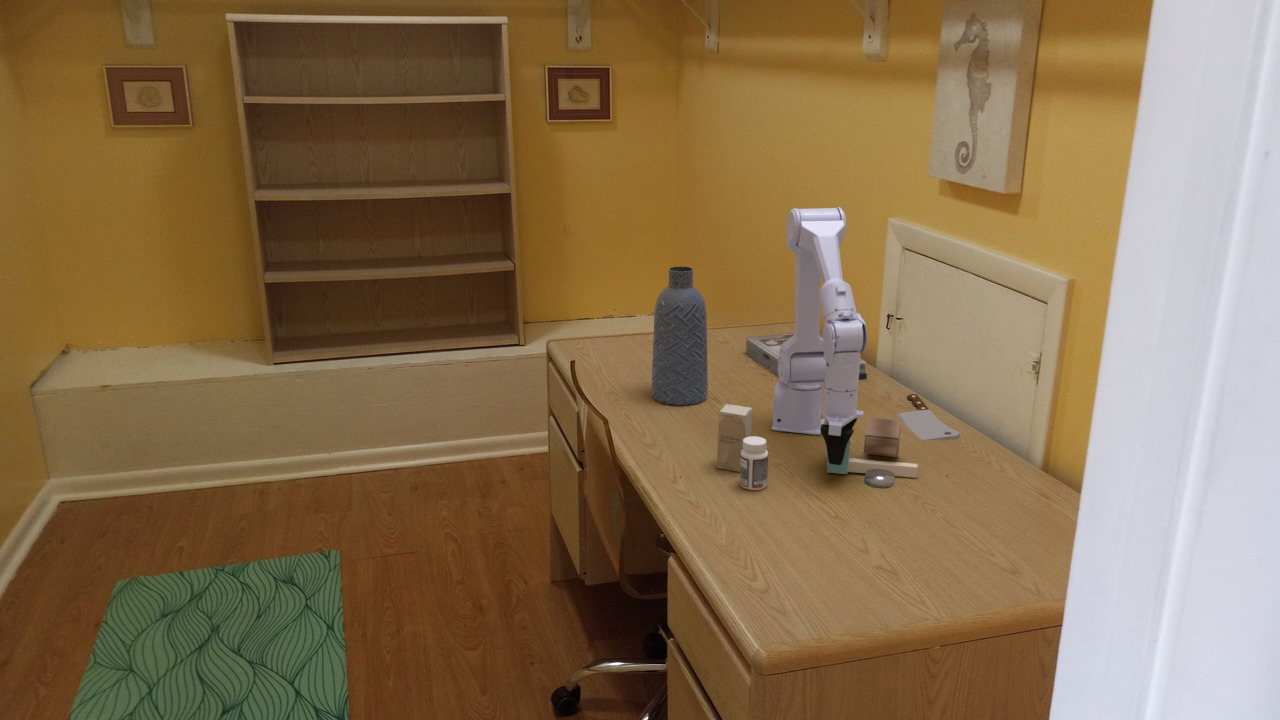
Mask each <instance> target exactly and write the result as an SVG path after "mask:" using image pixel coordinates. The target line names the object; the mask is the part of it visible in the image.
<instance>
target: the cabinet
mask: <svg viewBox="0 0 1280 720" xmlns="http://www.w3.org/2000/svg"><path fill="white" fill-rule="evenodd" d="M867 422H868V423H867V425H866V431H865V434H864V448H863V454H866V455H869V456H870V455H871V456H878V457H879V456H881V457H886V458H887V457H889V458H896V459H897V458H899V456H900V455H899V454H900V453H899V452H900V444H901V443H900V442H901V429H902V421H901V420H899V419H898V420H896V419H887V418H886V419H885V418H877V417H869V418H868V421H867Z"/></svg>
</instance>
